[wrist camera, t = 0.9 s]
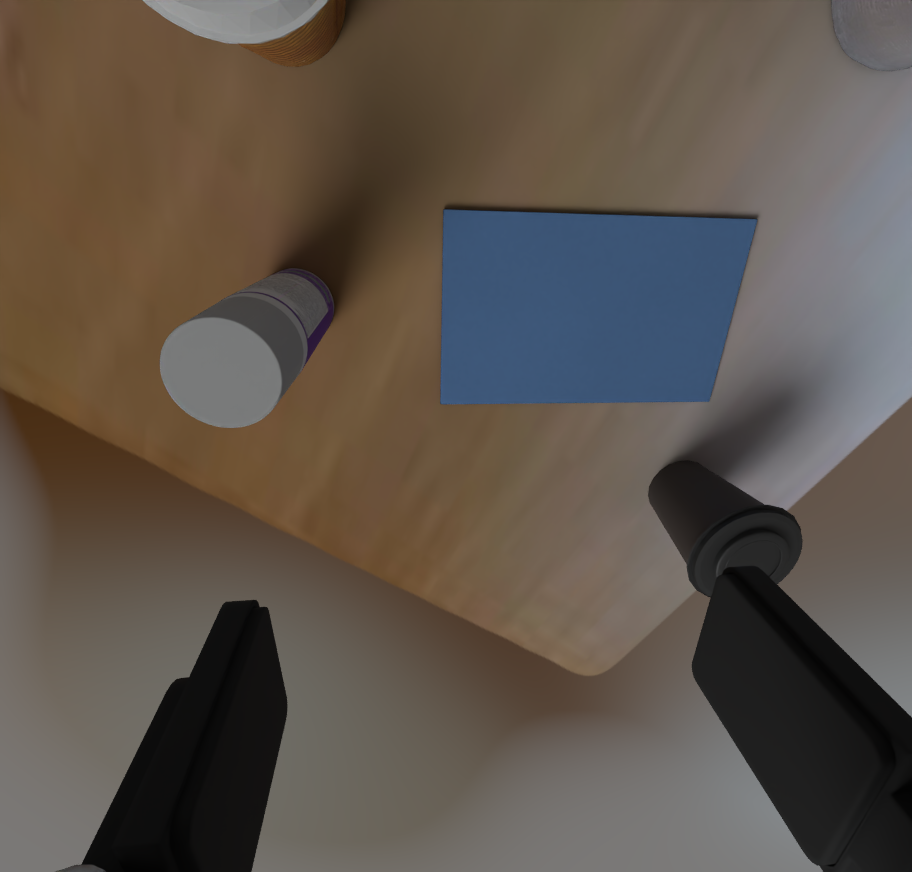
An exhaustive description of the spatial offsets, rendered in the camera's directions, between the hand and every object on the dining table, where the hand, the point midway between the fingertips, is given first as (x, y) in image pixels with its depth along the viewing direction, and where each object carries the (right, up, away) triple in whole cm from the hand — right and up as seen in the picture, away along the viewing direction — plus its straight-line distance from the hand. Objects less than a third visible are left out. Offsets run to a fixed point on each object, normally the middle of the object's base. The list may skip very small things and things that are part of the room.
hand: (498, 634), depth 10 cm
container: (-11, +13, +22) cm, 28 cm away
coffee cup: (+18, 0, +31) cm, 36 cm away
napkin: (+9, +13, +24) cm, 29 cm away
